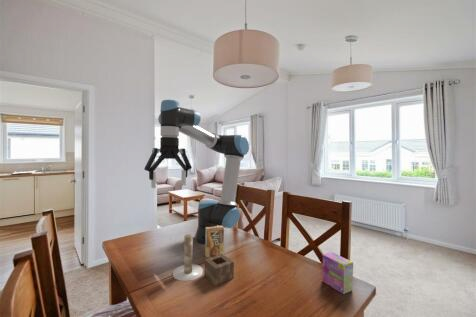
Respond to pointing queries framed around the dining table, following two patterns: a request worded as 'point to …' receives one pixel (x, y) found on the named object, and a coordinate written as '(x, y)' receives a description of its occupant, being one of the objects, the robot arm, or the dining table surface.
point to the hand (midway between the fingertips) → (169, 186)
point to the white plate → (181, 276)
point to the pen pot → (219, 269)
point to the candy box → (214, 241)
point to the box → (337, 272)
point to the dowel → (188, 253)
